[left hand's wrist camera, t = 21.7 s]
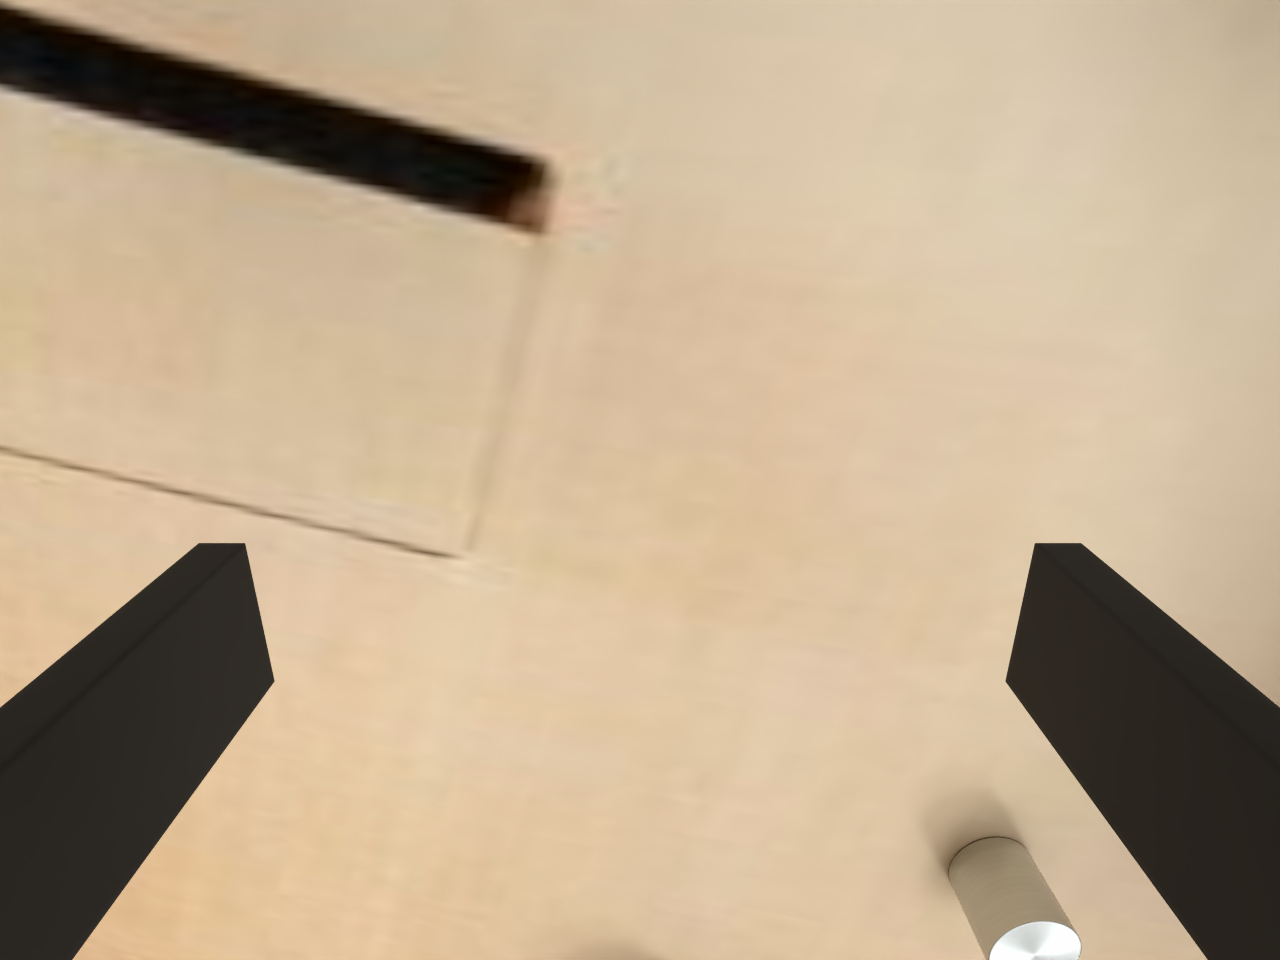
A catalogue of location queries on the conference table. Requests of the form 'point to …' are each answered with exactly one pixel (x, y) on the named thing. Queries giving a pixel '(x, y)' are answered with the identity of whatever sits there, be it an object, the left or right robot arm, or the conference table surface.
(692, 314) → the conference table surface
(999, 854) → the tin
